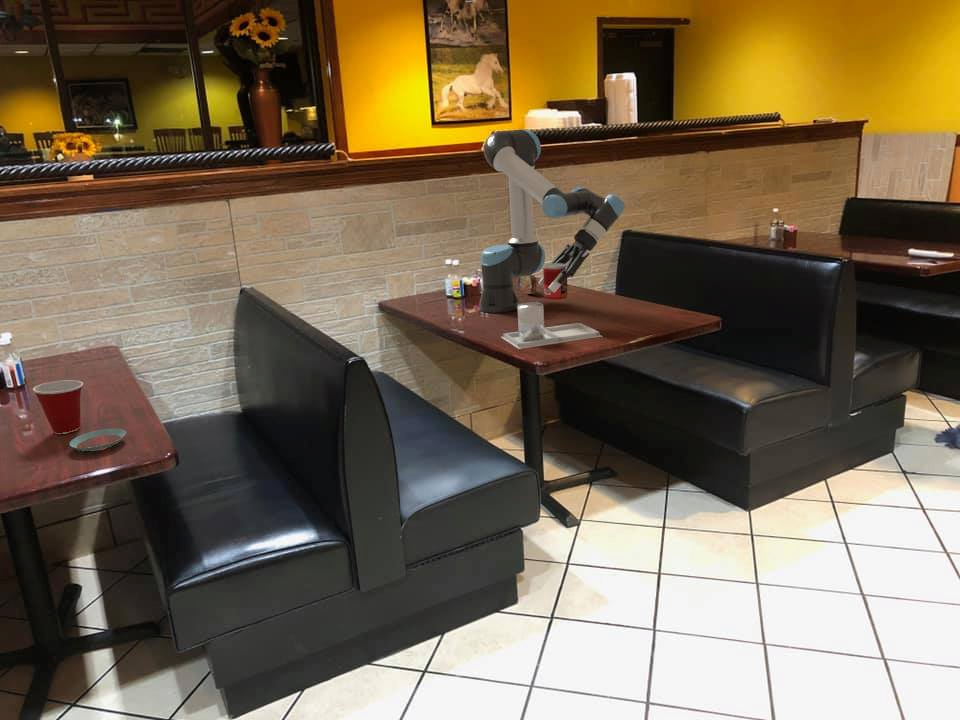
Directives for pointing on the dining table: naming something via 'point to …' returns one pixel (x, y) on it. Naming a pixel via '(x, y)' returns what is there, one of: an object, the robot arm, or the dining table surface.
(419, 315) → the dining table surface
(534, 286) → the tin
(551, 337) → the divided white tray
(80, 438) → the saucer
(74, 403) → the plastic cup
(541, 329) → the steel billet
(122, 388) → the dining table surface
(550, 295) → the canned food
